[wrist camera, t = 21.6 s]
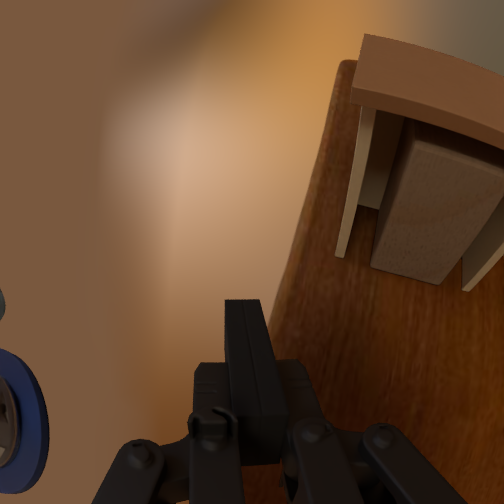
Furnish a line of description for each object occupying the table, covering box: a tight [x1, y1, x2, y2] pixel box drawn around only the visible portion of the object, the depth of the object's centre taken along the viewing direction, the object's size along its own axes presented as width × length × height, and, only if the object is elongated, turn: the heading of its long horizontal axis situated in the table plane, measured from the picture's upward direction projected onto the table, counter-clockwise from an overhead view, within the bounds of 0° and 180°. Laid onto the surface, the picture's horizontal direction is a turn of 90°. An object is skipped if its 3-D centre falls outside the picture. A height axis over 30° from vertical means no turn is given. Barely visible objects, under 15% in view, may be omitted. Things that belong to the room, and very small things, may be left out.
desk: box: [335, 34, 504, 292], centre depth 30 cm, size 13×21×24 cm, turn 70°
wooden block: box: [370, 117, 504, 285], centre depth 31 cm, size 10×10×20 cm
